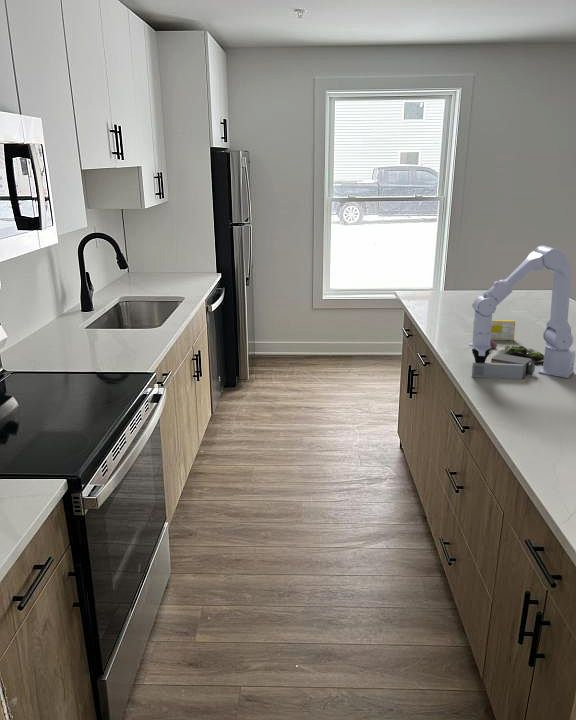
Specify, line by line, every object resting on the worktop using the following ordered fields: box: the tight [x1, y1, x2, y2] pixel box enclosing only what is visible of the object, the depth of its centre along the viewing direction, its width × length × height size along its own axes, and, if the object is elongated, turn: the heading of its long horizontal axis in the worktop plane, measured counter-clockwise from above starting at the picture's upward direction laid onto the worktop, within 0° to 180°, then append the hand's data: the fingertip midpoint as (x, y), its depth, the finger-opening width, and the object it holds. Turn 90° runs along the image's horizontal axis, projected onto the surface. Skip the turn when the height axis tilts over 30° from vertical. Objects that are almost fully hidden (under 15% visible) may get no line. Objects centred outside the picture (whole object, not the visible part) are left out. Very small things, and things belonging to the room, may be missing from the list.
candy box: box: [472, 319, 516, 342], centre depth 243 cm, size 16×2×8 cm, turn 74°
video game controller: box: [490, 338, 498, 349], centre depth 231 cm, size 10×5×7 cm, turn 141°
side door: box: [471, 361, 526, 380], centre depth 200 cm, size 17×2×5 cm, turn 77°
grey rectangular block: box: [490, 353, 536, 378], centre depth 205 cm, size 13×7×5 cm, turn 51°
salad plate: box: [496, 344, 545, 366], centre depth 221 cm, size 19×18×5 cm
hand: (479, 369), depth 204 cm, fingers closed
